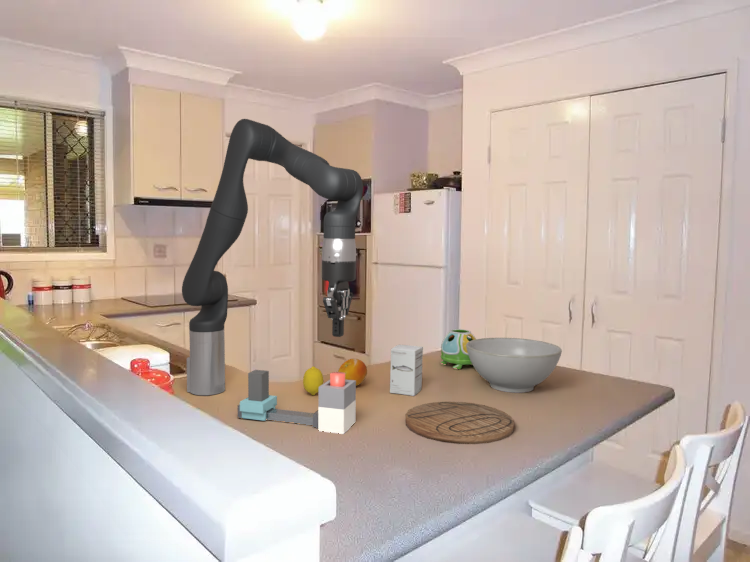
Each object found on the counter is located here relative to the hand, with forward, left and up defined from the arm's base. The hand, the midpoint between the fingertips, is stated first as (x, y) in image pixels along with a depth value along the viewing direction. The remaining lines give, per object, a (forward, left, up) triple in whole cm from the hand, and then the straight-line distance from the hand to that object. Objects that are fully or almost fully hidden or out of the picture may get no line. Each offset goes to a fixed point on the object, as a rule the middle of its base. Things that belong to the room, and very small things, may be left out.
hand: (337, 336), depth 125 cm
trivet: (+26, +11, -22) cm, 36 cm away
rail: (-14, 0, -21) cm, 25 cm away
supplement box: (+8, +33, -21) cm, 40 cm away
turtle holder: (+19, +69, -21) cm, 75 cm away
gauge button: (0, 0, -15) cm, 15 cm away
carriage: (-20, 0, -20) cm, 29 cm away
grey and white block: (0, 0, -21) cm, 21 cm away
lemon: (-15, +21, -21) cm, 33 cm away
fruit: (-8, +33, -21) cm, 40 cm away
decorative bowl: (+36, +48, -21) cm, 64 cm away
